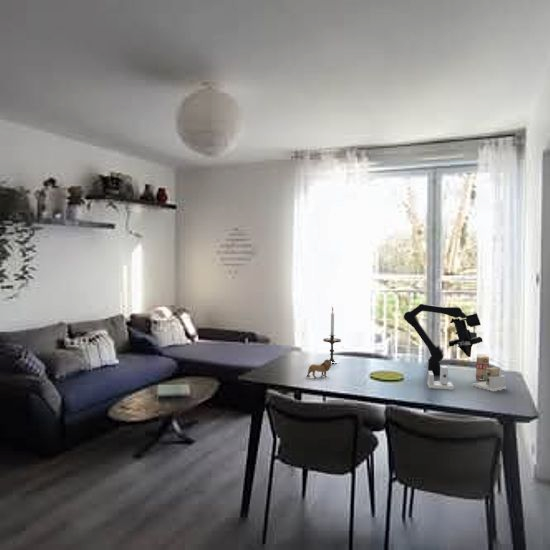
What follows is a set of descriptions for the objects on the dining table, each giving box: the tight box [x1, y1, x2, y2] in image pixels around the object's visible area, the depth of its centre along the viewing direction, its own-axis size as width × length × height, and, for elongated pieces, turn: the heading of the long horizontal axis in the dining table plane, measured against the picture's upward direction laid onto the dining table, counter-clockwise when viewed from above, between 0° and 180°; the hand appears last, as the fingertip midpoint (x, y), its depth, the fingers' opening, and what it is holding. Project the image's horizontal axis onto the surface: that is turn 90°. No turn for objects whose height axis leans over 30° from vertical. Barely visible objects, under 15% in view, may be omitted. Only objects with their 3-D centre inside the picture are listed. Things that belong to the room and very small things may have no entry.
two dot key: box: [486, 367, 500, 385], centre depth 238 cm, size 3×6×8 cm, turn 120°
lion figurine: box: [305, 358, 332, 379], centre depth 258 cm, size 15×5×9 cm, turn 114°
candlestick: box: [322, 306, 342, 362], centre depth 298 cm, size 11×11×35 cm
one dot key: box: [439, 364, 449, 384], centre depth 240 cm, size 3×6×8 cm, turn 167°
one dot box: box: [426, 370, 455, 390], centre depth 241 cm, size 12×10×6 cm
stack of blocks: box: [475, 353, 490, 380], centre depth 266 cm, size 21×6×12 cm, turn 156°
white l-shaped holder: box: [472, 374, 507, 392], centre depth 240 cm, size 12×10×6 cm
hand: (469, 357), depth 263 cm, fingers closed
